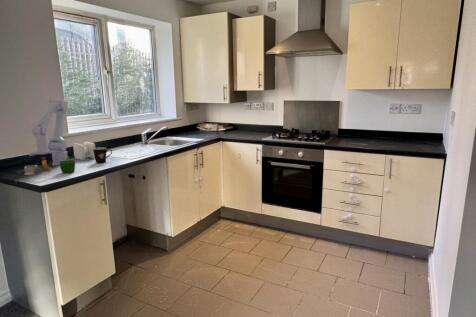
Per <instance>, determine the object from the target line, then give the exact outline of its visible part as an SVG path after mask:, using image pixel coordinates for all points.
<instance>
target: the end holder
mask: <svg viewBox="0 0 476 317" xmlns="http://www.w3.org/2000/svg"><path fill="white" fill-rule="evenodd" d="M36 167H38V164H34V165H33V164H32V165H25V166H24V174H25V173H30V172H35V170H34V169H35V168H36Z"/></svg>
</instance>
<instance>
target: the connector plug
mask: <svg viewBox="0 0 476 317" xmlns="http://www.w3.org/2000/svg"><path fill="white" fill-rule="evenodd" d="M41 163H42V166H44V169H46V168H47V157H41ZM42 166H41V167H42Z"/></svg>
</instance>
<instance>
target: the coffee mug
mask: <svg viewBox="0 0 476 317" xmlns="http://www.w3.org/2000/svg"><path fill="white" fill-rule="evenodd" d="M108 151H110V154H108V155H107V152H108ZM93 152H94V156H95V158H94V160H95V163H96V164H97V165H98V164H106V162H107V159H108V158H109V157H110V156H111V155H112V154H113V150H112V149H111V148H110V149H109V148H108V149H107V147H99V146H98V147H95V148H93Z"/></svg>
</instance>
